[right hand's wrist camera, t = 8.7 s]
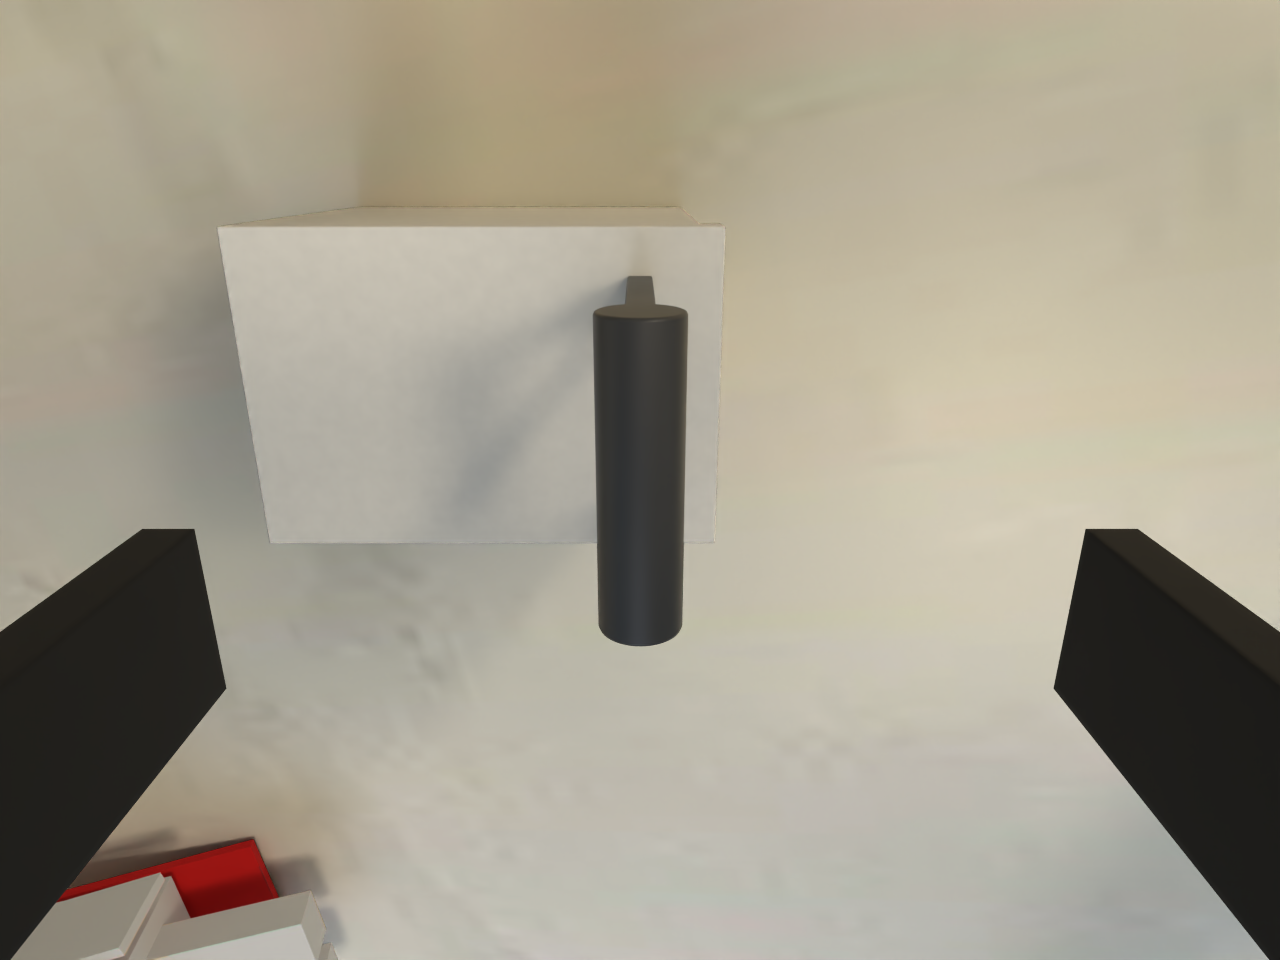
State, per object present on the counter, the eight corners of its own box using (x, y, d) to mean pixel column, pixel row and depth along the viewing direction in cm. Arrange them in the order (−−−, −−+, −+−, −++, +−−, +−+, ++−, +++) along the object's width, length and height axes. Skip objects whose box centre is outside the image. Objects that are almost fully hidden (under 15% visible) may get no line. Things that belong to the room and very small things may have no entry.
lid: (721, 223, 24) (768, 254, 16) (711, 527, 28) (746, 693, 19) (236, 223, 24) (11, 254, 16) (285, 527, 28) (122, 693, 19)
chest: (681, 206, 35) (700, 223, 24) (678, 429, 38) (692, 526, 28) (356, 206, 35) (237, 223, 24) (381, 430, 38) (285, 527, 28)
